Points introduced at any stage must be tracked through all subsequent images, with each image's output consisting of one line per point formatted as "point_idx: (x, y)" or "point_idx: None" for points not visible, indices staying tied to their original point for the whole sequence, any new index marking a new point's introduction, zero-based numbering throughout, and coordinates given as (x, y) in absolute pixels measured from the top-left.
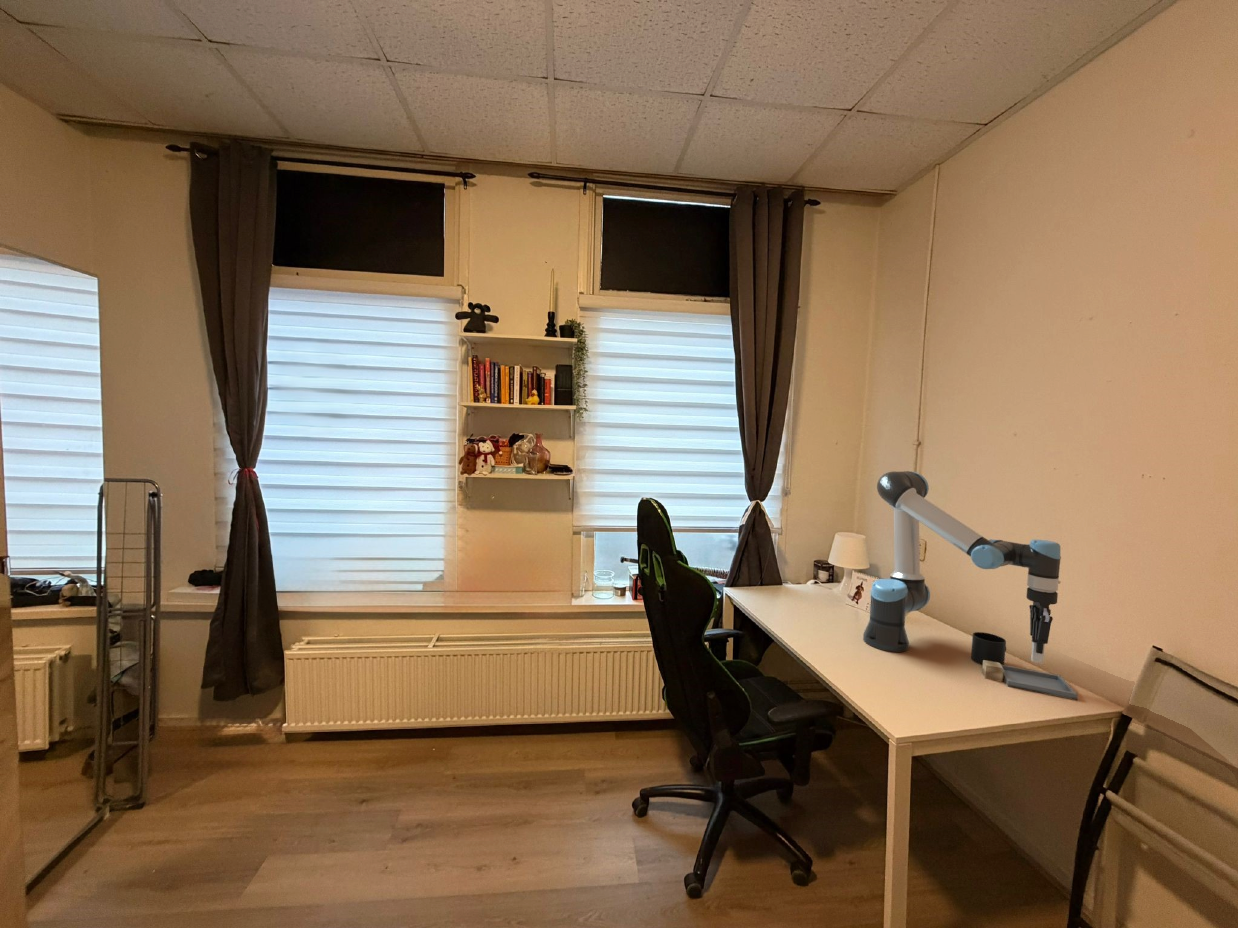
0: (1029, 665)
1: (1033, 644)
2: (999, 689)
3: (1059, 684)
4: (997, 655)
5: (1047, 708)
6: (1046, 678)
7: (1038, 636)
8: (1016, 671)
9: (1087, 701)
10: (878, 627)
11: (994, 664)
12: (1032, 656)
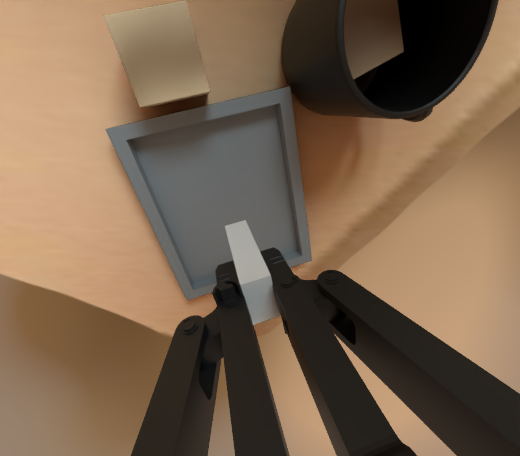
0: (380, 185)
1: (240, 271)
2: (35, 95)
3: None
4: (310, 83)
5: (21, 241)
6: (285, 229)
7: (165, 368)
8: (284, 154)
9: (200, 303)
10: None
11: (160, 64)
12: (232, 234)
